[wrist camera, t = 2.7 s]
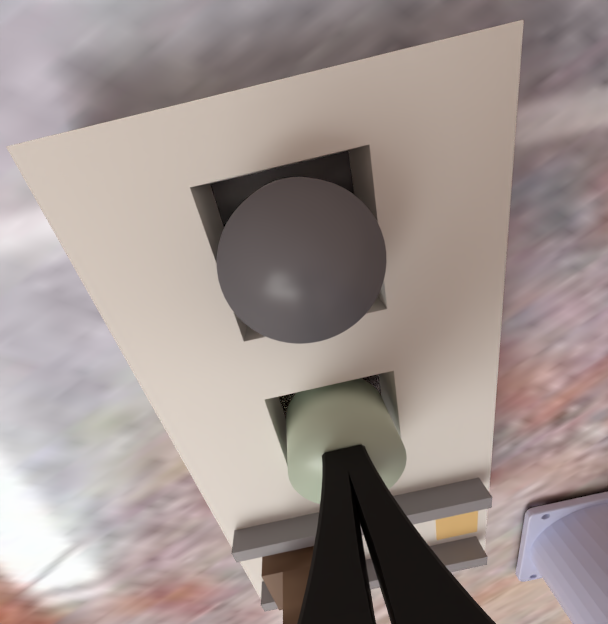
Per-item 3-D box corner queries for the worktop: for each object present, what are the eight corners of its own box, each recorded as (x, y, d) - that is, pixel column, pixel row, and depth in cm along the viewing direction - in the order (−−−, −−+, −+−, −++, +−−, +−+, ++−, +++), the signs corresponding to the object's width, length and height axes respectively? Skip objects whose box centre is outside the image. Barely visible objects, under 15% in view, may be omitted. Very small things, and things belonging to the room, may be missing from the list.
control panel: (461, 58, 9) (558, -3, 6) (458, 509, 18) (495, 577, 15) (72, 153, 9) (-31, 142, 6) (265, 550, 19) (262, 626, 15)
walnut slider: (328, 535, 13) (343, 646, 10) (339, 570, 15) (355, 679, 12) (262, 549, 14) (257, 665, 10) (279, 583, 15) (279, 695, 12)
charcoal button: (351, 161, 8) (376, 158, 6) (368, 291, 10) (393, 324, 8) (212, 194, 9) (190, 202, 6) (252, 318, 10) (245, 358, 8)
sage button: (378, 364, 11) (401, 409, 9) (388, 439, 13) (410, 492, 11) (274, 388, 11) (274, 438, 9) (298, 459, 13) (302, 515, 11)
